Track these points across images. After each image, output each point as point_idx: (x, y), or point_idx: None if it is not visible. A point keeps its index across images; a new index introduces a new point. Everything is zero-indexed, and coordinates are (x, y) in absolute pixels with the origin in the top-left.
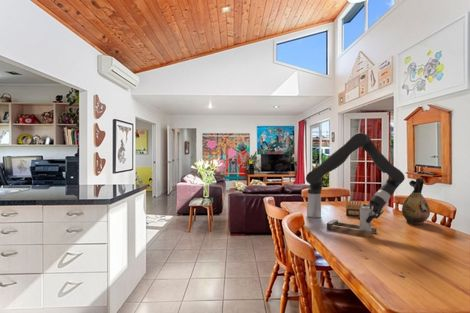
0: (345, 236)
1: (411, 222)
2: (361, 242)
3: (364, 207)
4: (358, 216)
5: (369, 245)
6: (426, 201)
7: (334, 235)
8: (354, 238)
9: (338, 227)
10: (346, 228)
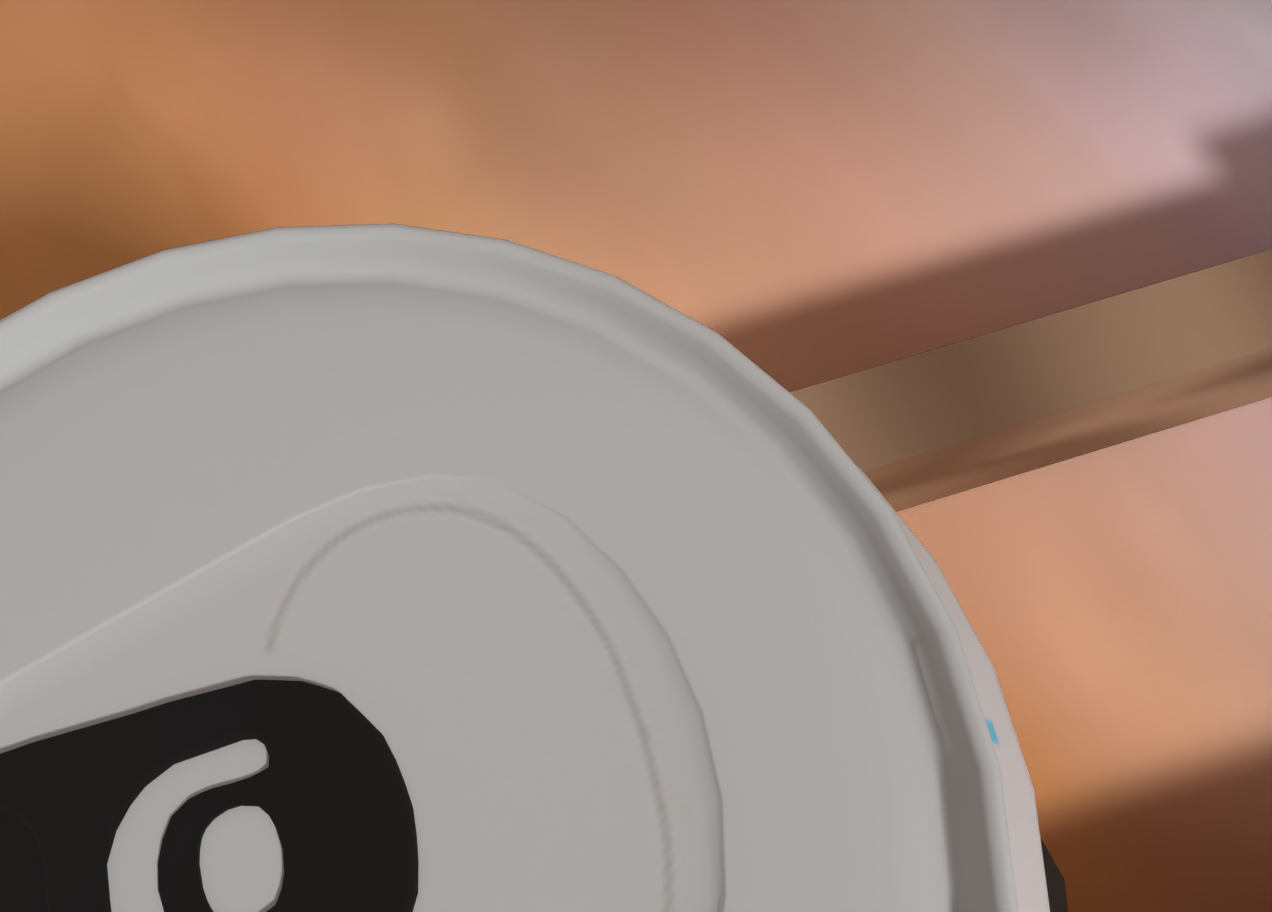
0: (771, 141)
1: None
2: (274, 71)
3: (336, 614)
4: (1054, 896)
5: (66, 42)
6: None
7: (977, 2)
8: (536, 183)
9: (1256, 263)
10: (1005, 334)
